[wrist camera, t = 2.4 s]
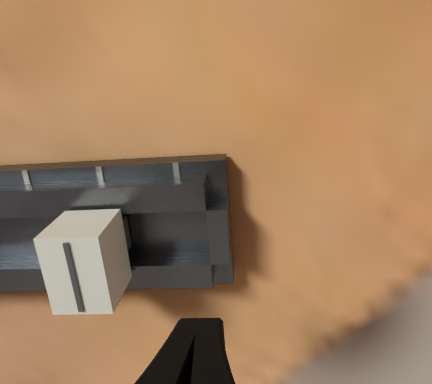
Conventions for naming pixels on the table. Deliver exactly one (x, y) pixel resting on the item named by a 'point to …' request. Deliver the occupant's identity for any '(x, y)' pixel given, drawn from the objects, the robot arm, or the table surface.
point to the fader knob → (85, 261)
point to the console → (136, 215)
